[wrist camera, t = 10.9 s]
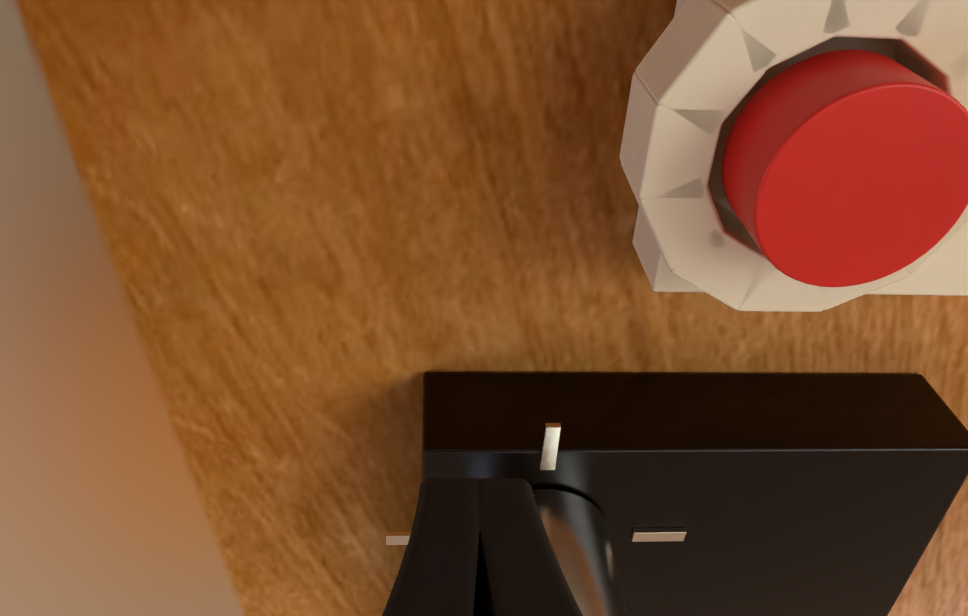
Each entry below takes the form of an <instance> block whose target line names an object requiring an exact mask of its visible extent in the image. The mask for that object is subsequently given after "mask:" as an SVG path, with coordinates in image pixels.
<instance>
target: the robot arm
mask: <svg viewBox="0 0 968 616" xmlns="http://www.w3.org/2000/svg"><path fill="white" fill-rule="evenodd" d="M382 616H583V615H582V613H581V611H580V609H579V607H578V605H577V602H576V600H575V598H574V596H573V594H572V592H571V590H570V588H569V585H568V583H567V581H566V579H565V577H564V574H563V572H562V570H561V567H560V565H559V562H558V560H557V558H556V555H555V553H554V551H553V548H552V546H551V543H550V541H549V538H548V535H547V533H546V530H545V528H544V525H543V522H542V519H541V516H540V513H539V510H538V507H537V504H536V501H535V498H534V494H533V491H532V487H531V485H530V484H529V483H528V482H527V481H526V480H524V479H500V478H428V479H427V480H425V481H424V482H422V483H421V484H420V491H419V500H418V505H417V510H416V514H415V519H414V523H413V527H412V531H411V534H410V538H409V541H408V545H407V548H406V551H405V554H404V557H403V560H402V564H401V567H400V570H399V573H398V575H397V578H396V581H395V583H394V586H393V589H392V591H391V594H390V597H389V599H388V602H387V605H386V607H385V610H384V613H383V615H382Z"/></svg>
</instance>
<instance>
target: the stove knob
mask: <svg viewBox="0 0 968 616" xmlns="http://www.w3.org/2000/svg"><path fill="white" fill-rule="evenodd" d="M532 491H533V494H534V498H535V501H536V504H537V507H538V510H539V513H540V516H541V519H542V522H543V525H544V528H545V530H546V533H547V535H548V538H549V541H550V543H551V546H552V548H553V551H554V553H555V555H556V558H557V560H558V562H559V565H560V567H561V570H562V572H563V574H564V577H565V579H566V581H567V583H568V585H569V588H570V590H571V592H572V594H573V596H574V598H575V600H576V602H577V605H578V607H579V609H580V611H581V613H582V615H583V616H628V613H627V609H626V605H625V601H624V596H623V592H622V588H621V584H620V580H619V575H618V571H617V567H616V563H615V559H614V554H613V550H612V546H611V542H610V538H609V534H608V529H607V525H606V522H605V519H604V517H603V515H602V514H601V512H600V511H599V510H598V508H597V507H596V506H595V505H593V504H592V503H591V502H590V501H588V500H587V499H585V498H583V497H581V496H579V495H577V494H574V493H571V492H567V491H563V490H556V489H534V490H532Z"/></svg>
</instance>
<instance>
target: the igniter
mask: <svg viewBox="0 0 968 616" xmlns="http://www.w3.org/2000/svg"><path fill="white" fill-rule="evenodd" d="M853 49H856V50H865V51H871V52H875V53H878V54H882V55H884V56H886V57H888V58H891V59H893V60H894V61H896V62H898V63H899V64H901V65H903V66H904V67H906V68H907V69H909V70H911V71H912V72H914V73H916V74H917V75H919V76H920V77H922V78H924V79H925V80H927V81H929V82H930V83H932V84H933V85H935V86H937V87H938V88H940V89H942V90H943V91H945V92H946V93H948V94H949V95H951V96H952V97H954V98H955V99H957V100H958V101H959V102H960V103H961V104H962V105H963V106H964V107H965V108H966V110H967V111H968V0H677V2H676V8H675V13H674V18H673V19H672V21H671V22H670V23H669V25H668V26H667V27H666V29H665V30H664V31H663V33H662V34H661V36H660V37H659V38H658V40H657V41H656V42H655V44H654V45H653V46H652V48H651V49H650V50H649V52H648V53H647V54H646V56H645V57H644V58H643V60H642V61H641V62H640V64H639V65H638V66H637V68H636V70H635V72H634V73H633V76H632V83H631V89H630V95H629V101H628V107H627V113H626V119H625V126H624V132H623V138H622V144H621V150H620V156H619V158H620V160H621V166H622V168H623V171H624V173H625V175H626V177H627V180H628V182H629V184H630V187H631V189H632V191H633V193H634V196H635V198H636V200H637V202H638V205H639V208H638V213H637V219H636V224H635V230H634V235H633V241H632V243H633V246H634V248H635V250H636V253H637V255H638V257H639V260H640V262H641V264H642V266H643V269H644V271H645V273H646V276H647V278H648V280H649V282H650V285H651V287H652V289H653V291H655V292H705V293H707V294H709V295H711V296H712V297H714V298H716V299H717V300H719V301H721V302H723V303H724V304H726V305H728V306H729V307H731V308H733V309H735V310H738V311H784V312H821V311H825V310H828V309H830V308H833V307H835V306H837V305H840V304H842V303H845V302H847V301H850V300H852V299H854V298H857V297H859V296H862V295H864V294H878V295H957V296H968V204H967V206H966V208H965V210H964V211H963V213H962V214H961V216H960V218H959V219H958V221H957V222H956V223H955V224H954V226H953V227H952V228H951V229H950V231H949V232H948V233H947V234H946V235H945V236H944V237H943V238H942V239H941V240H940V241H939V242H938V243H937V244H936V245H935V246H934V247H933V248H931V249H930V250H929V251H928V252H927V253H925V254H924V255H923V256H921V257H920V258H918V259H917V260H916V261H914V262H913V263H911V264H909V265H908V266H906V267H904V268H902V269H901V270H899V271H897V272H895V273H892V274H890V275H888V276H886V277H883V278H880V279H878V280H875V281H872V282H868V283H864V284H860V285H854V286H848V287H820V286H815V285H810V284H806V283H803V282H800V281H797V280H794V279H792V278H790V277H788V276H787V275H785V274H783V273H782V272H780V271H779V270H778V269H776V268H775V267H774V266H773V265H772V264H771V263H770V262H769V261H768V260H767V258H766V257H765V255H764V254H763V252H762V251H761V250H760V248H759V247H758V245H757V244H756V242H755V241H754V240H753V238H752V237H751V235H750V234H749V232H748V231H747V230H746V228H745V227H744V225H743V224H742V222H741V221H740V220H739V218H738V217H737V215H736V214H735V212H734V211H733V209H732V208H731V206H730V204H729V202H728V200H727V198H726V195H725V192H724V188H723V183H722V174H721V172H722V158H723V152H724V148H725V144H726V141H727V138H728V135H729V133H730V131H731V128H732V126H733V124H734V122H735V120H736V119H737V117H738V115H739V114H740V112H741V110H742V109H743V108H744V107H745V105H746V104H747V103H748V101H749V100H750V99H751V98H752V97H753V96H754V94H755V93H756V92H757V91H758V90H759V89H760V88H761V87H762V86H764V85H765V84H766V83H767V82H768V81H769V80H770V79H772V78H773V77H774V76H776V75H777V74H779V73H780V72H782V71H783V70H785V69H786V68H788V67H790V66H792V65H794V64H796V63H797V62H800V61H802V60H804V59H807V58H809V57H812V56H815V55H819V54H822V53H826V52H831V51H837V50H853Z"/></svg>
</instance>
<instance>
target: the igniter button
mask: <svg viewBox="0 0 968 616" xmlns="http://www.w3.org/2000/svg"><path fill="white" fill-rule="evenodd" d="M721 174H722V183H723V188H724V192H725V195H726V198H727V200H728V202H729V204H730V206H731V208H732V209H733V211H734V212H735V214H736V215H737V217H738V218H739V220H740V221H741V222H742V224H743V225H744V227H745V228H746V230H747V231H748V232H749V234H750V235H751V237H752V238H753V240H754V241H755V242H756V244H757V245H758V247H759V248H760V250H761V251H762V252H763V254H764V255H765V257H766V258H767V260H768V261H769V262H770V263H771V264H772V265H773V266H774V267H775V268H776V269H778V270H779V271H780V272H782V273H783V274H785V275H787V276H788V277H790V278H792V279H794V280H797V281H800V282H803V283H806V284H810V285H815V286H820V287H848V286H854V285H860V284H864V283H868V282H872V281H875V280H878V279H880V278H883V277H886V276H888V275H890V274H892V273H895V272H897V271H899V270H901V269H902V268H904V267H906V266H908V265H909V264H911V263H913V262H914V261H916V260H917V259H918V258H920V257H921V256H923V255H924V254H925V253H927V252H928V251H929V250H930V249H931V248H933V247H934V246H935V245H936V244H937V243H938V242H939V241H940V240H941V239H942V238H943V237H944V236H945V235H946V234H947V233H948V232H949V231H950V229H951V228H952V227H953V226H954V224H955V223H956V222H957V221H958V219H959V218H960V216H961V214H962V213H963V211H964V210H965V208H966V206H967V204H968V111H967V110H966V108H965V107H964V106H963V105H962V104H961V103H960V102H959V101H958V100H957V99H955V98H954V97H952V96H951V95H949V94H948V93H946V92H945V91H943V90H942V89H940V88H938V87H937V86H935V85H933V84H932V83H930V82H929V81H927V80H925V79H924V78H922V77H920V76H919V75H917V74H916V73H914V72H912V71H911V70H909V69H907V68H906V67H904V66H903V65H901V64H899V63H898V62H896V61H894V60H893V59H891V58H888V57H886V56H884V55H882V54H878V53H875V52H871V51H865V50H856V49H853V50H837V51H831V52H826V53H822V54H819V55H815V56H812V57H809V58H807V59H804V60H802V61H800V62H797V63H796V64H794V65H792V66H790V67H788V68H786V69H785V70H783V71H782V72H780V73H779V74H777V75H776V76H774V77H773V78H772V79H770V80H769V81H768V82H767V83H766V84H765V85H764V86H762V87H761V88H760V89H759V90H758V91H757V92H756V93H755V94H754V96H753V97H752V98H751V99H750V100H749V101H748V103H747V104H746V105H745V107H744V108H743V109H742V110H741V112H740V114H739V115H738V117H737V119H736V120H735V122H734V124H733V126H732V128H731V131H730V133H729V135H728V138H727V141H726V144H725V148H724V152H723V158H722V172H721Z"/></svg>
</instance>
